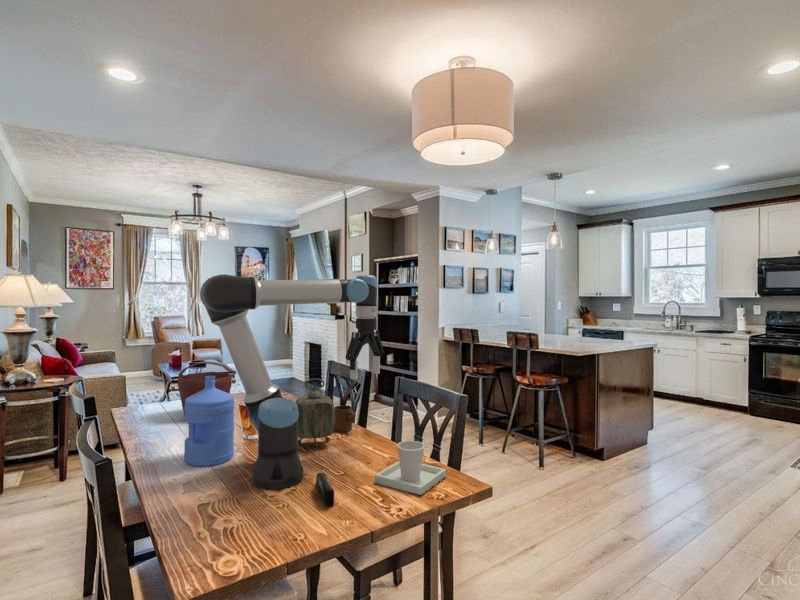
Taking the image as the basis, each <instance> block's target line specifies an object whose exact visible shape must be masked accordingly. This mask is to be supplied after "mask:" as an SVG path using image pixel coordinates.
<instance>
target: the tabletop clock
mask: <svg viewBox="0 0 800 600" xmlns="http://www.w3.org/2000/svg"><path fill="white" fill-rule="evenodd" d="M311 381H319V382H321V383H322V385H321V386H319V387H317V386H316V385H313V387H309V386H308V383H309V382H311ZM324 386H325V381H324V380H323V379H322V378H319V377H318V378H315V377H314V378H309V379H307V380H306V382H305V388H307V389H308V390H310V391H309V393H308V394H307V395H304V396H300V397H298V398H296V401H295V402H296V404H297V406H298V411H299V417H298V438H299V439H298V445H301V444H302V440H303V439H309V440H310V439H311V440H312V439H313V442H314V443H313V444H312V447H314V448H317V447H318V443H317V439H321V438H325V441H326V442H327V443H328V442H330V440H331V439H330V436H331V435H333V433H334V431H335V430H334V426H335V404H334V402H333V400H332V398H331V397H330V396H328V395H324V394H322V393H321V391H320V390H321V389H322V388H324Z"/></svg>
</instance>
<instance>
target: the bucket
mask: <svg viewBox="0 0 800 600" xmlns="http://www.w3.org/2000/svg"><path fill="white" fill-rule="evenodd" d="M201 364H206V365H207V364H208V365H215V366H219V367H222V368H223V369H224V370H226V371H228V372H224V371H223V372H222V371H221V372H219V371H204V372H196V373H194V372H193V373H192V372H191V373H186V374H185V375H184V373H185V372H186V371H187V370H188V369H190V368H192V367H194V366H197V365H201ZM231 372H232V373H231ZM235 375H236V372H235V370H234V369H233V368H232V367H229V366H228V365H227V364H225V363H221V362H216V361H200V362H196V363H193V364H190V365H188V366H186V367H185V368H182V370H180V372H179V373H178V376H177V388H178V392H179V396H180V401H181V407H182V411H183V415H184V417H185V412H184V406H185V400H186V398H188V397H189V396H191V395H193V394H195V393H197V392H199V391H201V390H203V389H204V388H205V381H206V379H205V377H206V376H215V388H216V389H219V390H221V391H224V392H227V393H229V394H231V387H232V383H233V382H232V381H233V380H232V379H233V378H234V376H235Z"/></svg>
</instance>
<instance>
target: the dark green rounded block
mask: <svg viewBox="0 0 800 600" xmlns="http://www.w3.org/2000/svg"><path fill="white" fill-rule="evenodd" d="M314 486H315V487H316V492H317V494H318V496H319V499H320V501H321V503H322V505H323V506H324V507H326V508H331V507H334V506H335V490H334V489H333V487H332V486H331V483H330V482H329V479H328V476H327V474H326V473H324V472H318V473H317V474H316V477H315V483H314Z"/></svg>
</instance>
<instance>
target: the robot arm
mask: <svg viewBox="0 0 800 600" xmlns="http://www.w3.org/2000/svg"><path fill="white" fill-rule="evenodd" d="M377 290H378V280H377V278H376V276H375V275H370V274H369V275H364V274H362V275H360V274H359V275H357V276H356V278H352V279H351V278H350V279H277V280H276V279H271V280H269V279H268V280H266V279H265V280H264V279H263V280H261V279H260V280H259V279H257V278H256V276H239V275H237V276H236V275H232V274H225V273H224V274H216V275H213V276H212V277H209V278H208V279H206V280H205V282H204V283H203V284H202V286H201V288H200V291H199V293H200V295H199V297H200V301H201V303H202V304H203V305H204V307H205V310H206V312H207V315H208V316H209V320H210V321H211V324H213V325H215V326H217V327H219V330H220V332H221V335H222V338H223V340H224V342H225V345H226V347H227V350H228V352H229V354H230V357H231V360H232V362H233V364H234V367H235V370H236V372H237V375H238V377H239V380H240V382H241V384H242V386H243V387H242V388H243V389H244V392H245V393H246V394H245V397H244V399H243V402H244V405H245V408H246V410H247V413H248V417H249V420H250V423H251V424H252V425H253V427H254V428H255V429H256V431H257V433H258V435H257V436H258V442H257V443H258V445H257V447H258V448H257V449H258V450H257V458H256V461H255V465H254V469H252V472H251V483H252V485H253V486H254V487H256V488H259V489H265V490H279V489H280V490H282V489H286V488H290V487H294V486H296V485H298V484H299V483H300V482H302V481H303V479H304V468H303V465H302V462H301V461H302V460H301V458H300V455H299V444H298V440H299V437H298V417H299V411H298V406H297V404H296V401H294V400H292V399H288V398H284V396H283V395H282V392H281V390H280V387H279V385H278V384H274V383H273V382H272V380H271V377H270V375H269V373H268V370H267V367H266V364H265V362H264V359H263V356H262V354H261V351H260V350H259V347H258V343H257V342H256V339H255V336H254V334H253V332H252V329H251V326H250V324H249V321H248V319H247V314H248V312H249V311H250V310H256V309H257V308H258V307H260V306H265V307H266V306H280V305H281V306H285V305H287V306H288V305H289V306H290V305H305V304H306V305H312V304H314V305H316V304H333V303H334V304H337V303H338V304H339V303H341V304H343V303H353V304H354V303H355V317H356V319H355V329H357V331H352V332H351V338H350V342H349V345H348V347H347V348H348V349H347V351H346V355H345V359H346V360H347V361H349V373H350V374H349V378H350V380H356V381H357V380H358V379H359V377H358V376H359V375H358V374H359V373H358V370H359V366H358V365H359V360H357V359H358V357H359V355H360V352H361V351H362V349H363V347H364V346H365V345H367V344H368V346H369V348H370V349H371V351H372V353H373V356H372V374H375V375H379V374H380V373H381V372H380V371H381V367H380V366H381V357H383V355H384V354H385V350H384V347H383V344H382V341H381V340H382V339H381V337H380V336H381V335H380V330H378V329H377V319H376V317H377V298H378V297H377V296H378V291H377Z"/></svg>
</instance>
